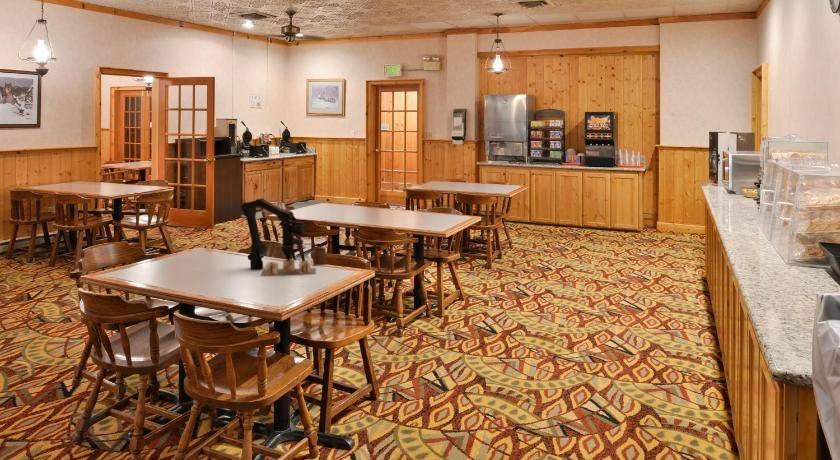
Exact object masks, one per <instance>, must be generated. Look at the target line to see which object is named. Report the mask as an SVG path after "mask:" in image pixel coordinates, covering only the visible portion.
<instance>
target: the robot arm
mask: <svg viewBox="0 0 840 460" xmlns="http://www.w3.org/2000/svg"><path fill="white" fill-rule="evenodd" d="M240 208H241V209H240V210H241V212H242V214H243V215H244V217H245V218H246V221H247V222H246V223H247V226H248V231H249V234H250V238H251V246H250V253H249V254H248V255H247V259H248V261H249V262H250V263H249V264H250V269H249V270H250V271H253V270H255V271H256V270H264V260H263V258H264V256H265V255H266V253H267V247H266V243H265V242H263V241H262V240H261V236H260V231H259V228H258V223H257V219H256V215H257V208H262V209H264V210H266V211H268V212H269V213H271V214H272V215H275V216H276V217H277V219H278V220H280V223H278V226H279V227H280V226H281V228H282V229H281V231H282V232H281V233H282V236H281V238H282V246H281V252H283V254H284V256H285V259H286V260H287V261H290V259H291V253H292V252H293V251H294V246H295V245H296V246H298V247H302V246H303V242H304V239H302V237H301V236H297V237H295V235H305V234H306V231H307V227H306V224H305V223H304V221H300V222H299V221H298V220H297V218H296V217H295V214H294V213H293V212H292V211H291V210H288V209H285V208H281V207H279V206H276V205H275V204H273V203H271V202H269V201H267V200H265V199H264V198H263V197H262V198H257V199H255V200H252V201H246V202H243V203H242V204H241V206H240ZM294 234H295V235H294Z"/></svg>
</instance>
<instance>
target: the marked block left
mask: <svg viewBox="0 0 840 460" xmlns="http://www.w3.org/2000/svg"><path fill="white" fill-rule="evenodd" d="M278 264H279V262H278V261H273V262H272V261H270V262H269V261H268V262H265V270H266V275H277V274H278V269H279V265H278Z"/></svg>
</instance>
